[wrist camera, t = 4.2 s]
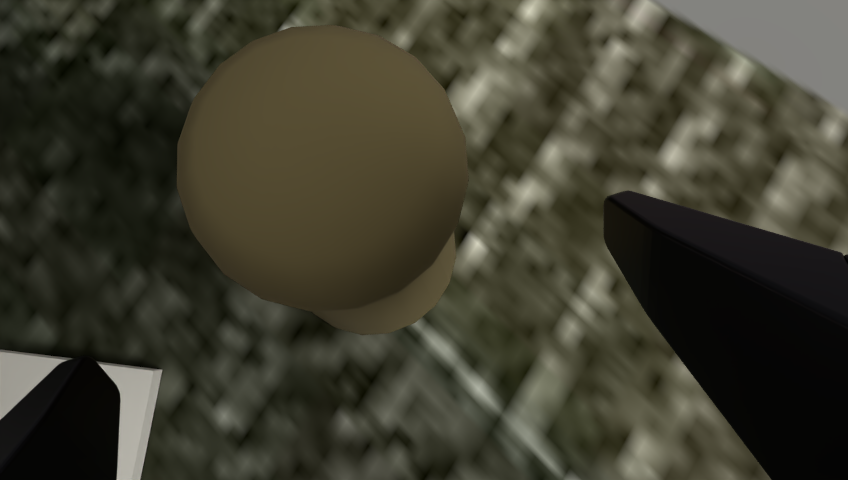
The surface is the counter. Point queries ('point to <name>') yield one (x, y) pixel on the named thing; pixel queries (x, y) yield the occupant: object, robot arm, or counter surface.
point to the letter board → (20, 372)
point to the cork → (327, 176)
